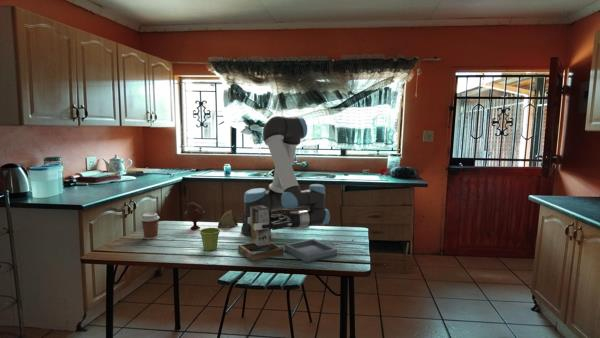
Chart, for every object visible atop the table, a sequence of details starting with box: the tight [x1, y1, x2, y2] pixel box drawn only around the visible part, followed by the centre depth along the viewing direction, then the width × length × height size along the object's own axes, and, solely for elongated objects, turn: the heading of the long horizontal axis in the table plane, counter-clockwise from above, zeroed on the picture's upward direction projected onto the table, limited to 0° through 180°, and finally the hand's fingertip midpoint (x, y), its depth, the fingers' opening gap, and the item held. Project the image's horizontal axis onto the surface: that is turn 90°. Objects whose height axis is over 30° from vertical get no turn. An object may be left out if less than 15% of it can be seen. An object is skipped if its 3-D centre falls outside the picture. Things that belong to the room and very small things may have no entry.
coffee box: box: [249, 205, 272, 246], centre depth 161 cm, size 9×6×16 cm
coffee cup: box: [140, 212, 161, 240], centre depth 184 cm, size 9×9×12 cm
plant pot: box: [199, 227, 221, 252], centre depth 168 cm, size 9×9×9 cm
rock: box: [217, 209, 239, 228], centre depth 206 cm, size 11×9×10 cm
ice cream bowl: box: [183, 201, 206, 231], centre depth 200 cm, size 11×11×15 cm
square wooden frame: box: [237, 241, 284, 262], centre depth 162 cm, size 15×15×3 cm
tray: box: [284, 238, 338, 264], centre depth 162 cm, size 18×16×3 cm
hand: (250, 223), depth 159 cm, fingers closed on coffee box, 9 cm apart
